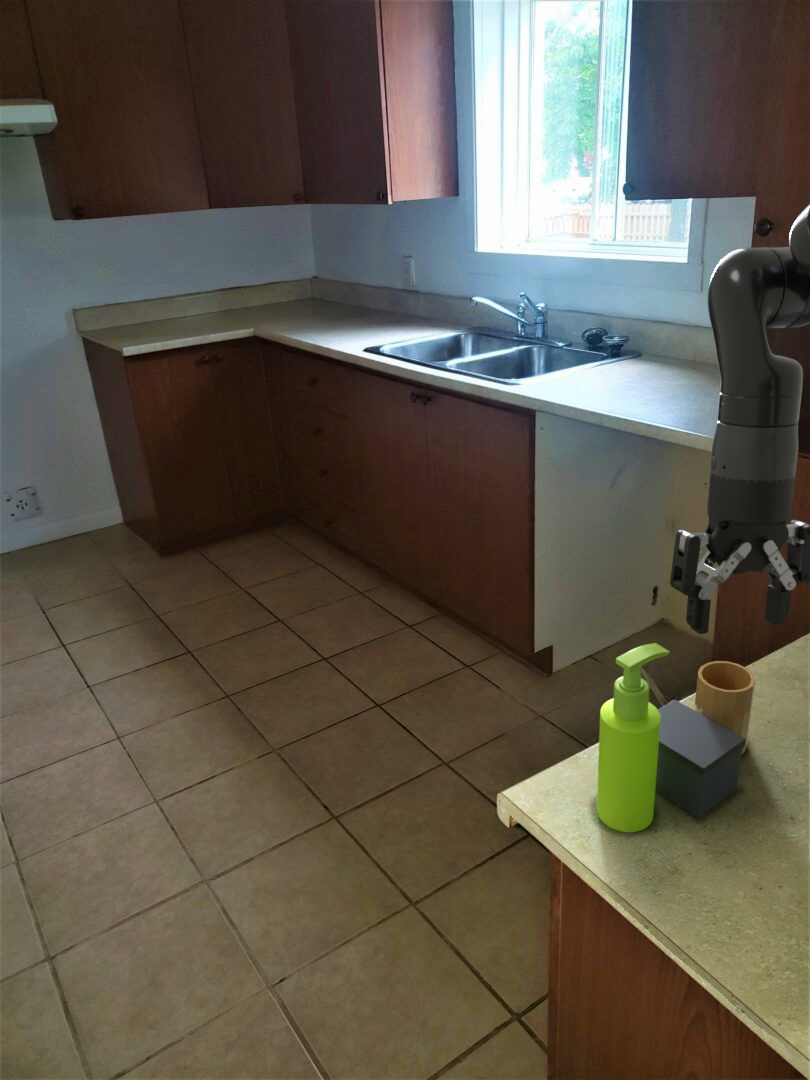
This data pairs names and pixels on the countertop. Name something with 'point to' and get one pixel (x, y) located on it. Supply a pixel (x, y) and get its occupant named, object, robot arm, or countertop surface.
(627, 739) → the soap dispenser
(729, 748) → the dark grey box
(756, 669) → the countertop surface
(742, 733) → the cup
